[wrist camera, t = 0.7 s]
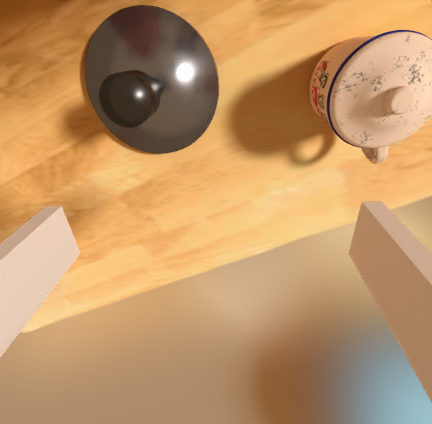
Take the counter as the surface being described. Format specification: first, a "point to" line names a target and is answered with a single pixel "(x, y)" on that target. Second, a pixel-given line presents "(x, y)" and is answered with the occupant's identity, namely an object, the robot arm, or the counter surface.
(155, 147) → the lid
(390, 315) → the robot arm
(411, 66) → the teacup with lid
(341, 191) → the counter surface
